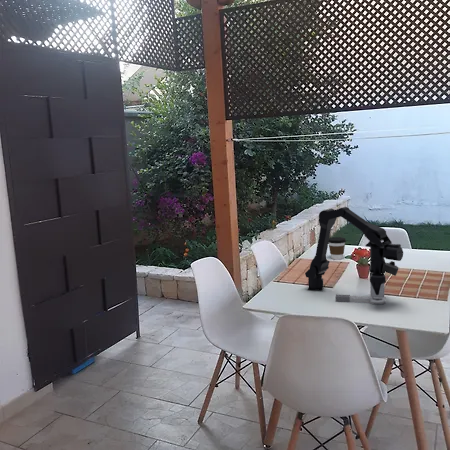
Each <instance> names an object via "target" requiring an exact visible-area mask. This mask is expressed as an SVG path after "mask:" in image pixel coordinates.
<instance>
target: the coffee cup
mask: <svg viewBox="0 0 450 450" xmlns="http://www.w3.org/2000/svg"><path fill="white" fill-rule="evenodd" d="M346 242H347V240H346V238H344V237H339V236H338V237H337V236H334V237H329V243H328V248H329V253H330V258H331V260H334V261H335V260H336V261H339V260H343V258H344V252H345V246H346Z"/></svg>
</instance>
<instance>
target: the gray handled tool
mask: <svg viewBox="0 0 450 450" xmlns="http://www.w3.org/2000/svg"><path fill="white" fill-rule="evenodd" d="M335 302H338V303H364V304H365V303H366V304H368V303H369V304H371V305H375V306H376V305H377V306H378V305H379V306H380V305H385V304H386V302H387V298H386V296H384V298H382V297H371V295H369V296H364V295H363V296H360V295H350V294H338V293H337V294H335Z"/></svg>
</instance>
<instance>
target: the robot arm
mask: <svg viewBox="0 0 450 450" xmlns="http://www.w3.org/2000/svg"><path fill="white" fill-rule="evenodd" d="M337 218H342V219H344V220H345V221H347V222H348V223H349V224H351V225H353V226H354V227H355V228H357V229H358V230H359V231H361V232H362V233H363V235H364V237H365V238H366V239H367V240H368V243H365V247H367V248H370V249H369V254H370V256H369V257H370V258H369V263H370V264H369V265H370V266H369V268H368V270H369V283H370V282H371V284H372V287H373V289H374V291H375V294H376V295H379V291H380V287H381V284H382V283H384V284H385V283H386V282H387V280H386V275H385V274H386V273H387V274H390V275H392V276H397V274H398V271H399V266H397V265H396V263H395V261H396V262H401V261H402V260H403V257H404V251H403V248H402V245H401V244H400V243H392V241H391V239H390V237H389V236H388V235H387V231H386V229H385V228H383V227H381V226H379V225H376V224H373V223H370V222H368V221H367V220H366V219H364V218H363V217H361V216H360V215H358V214H357V213H356V212H354V211H353V210H351V209H350V208H349V207H347V206H343V207H340V208H338V209H334V208H328V209H324V210H321V211H320V212H319V214H318V224H319V228H320V229H319V235H318V239H317V245H316V251H315V255H314V257H313V258H312V260H311V262H310V265H309V268H308V269H307V271H306V272H304V274H305V277H306V278H308V289H307V291H322V290H323V288H324V278H323V276H325V274H326V272H327V270H329V264H330V260H328V258H327V254H328V253H327V252H328V248H329V238H331V237H330V236H331V230H332V229H333V226H335V224H336V221H337ZM385 259H386V260H389V262H386V260H385ZM390 260H391V261H390Z"/></svg>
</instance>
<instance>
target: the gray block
mask: <svg viewBox="0 0 450 450" xmlns="http://www.w3.org/2000/svg"><path fill="white" fill-rule="evenodd" d="M369 284H370V285H369V286H370V287H369V288H370V292H369V293H370V295H369V296H371V297H382V298H384V297H385V283H382V284H381V287H380V291H379V295H376V294H375V291H374V289H373V287H372V284H371V282H370V281H369Z"/></svg>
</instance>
